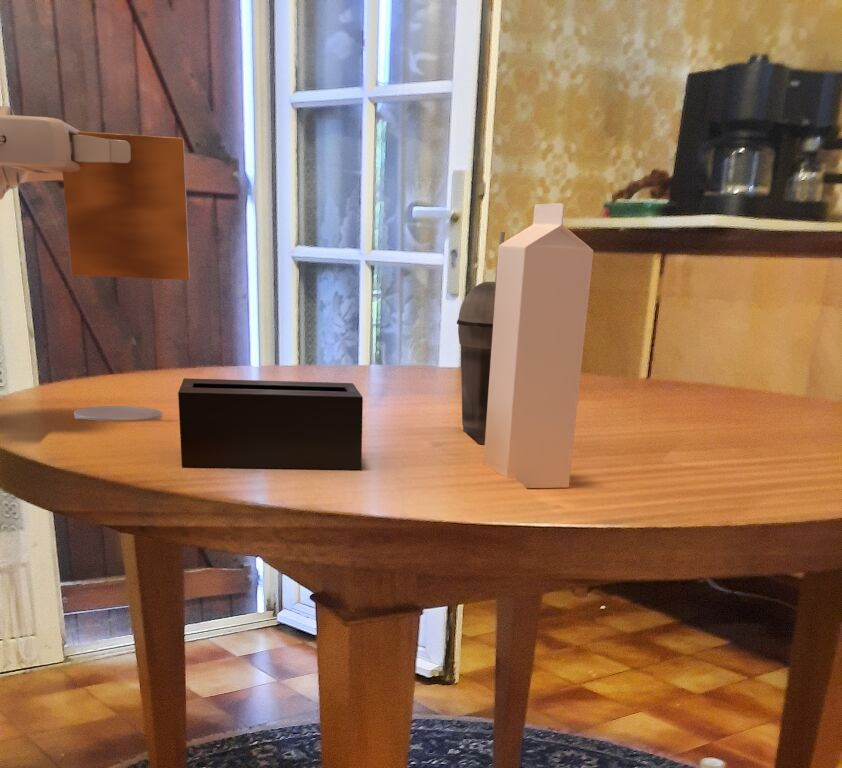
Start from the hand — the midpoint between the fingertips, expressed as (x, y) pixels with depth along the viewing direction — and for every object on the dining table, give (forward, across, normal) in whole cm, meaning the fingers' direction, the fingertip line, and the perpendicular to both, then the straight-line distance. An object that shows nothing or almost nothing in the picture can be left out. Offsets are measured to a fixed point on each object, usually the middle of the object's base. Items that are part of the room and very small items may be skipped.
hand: (133, 153), depth 99 cm
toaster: (+12, -19, +25) cm, 34 cm away
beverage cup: (+35, -2, +25) cm, 43 cm away
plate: (-4, +4, +25) cm, 25 cm away
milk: (+34, -22, +25) cm, 48 cm away
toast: (-1, 0, +10) cm, 11 cm away
